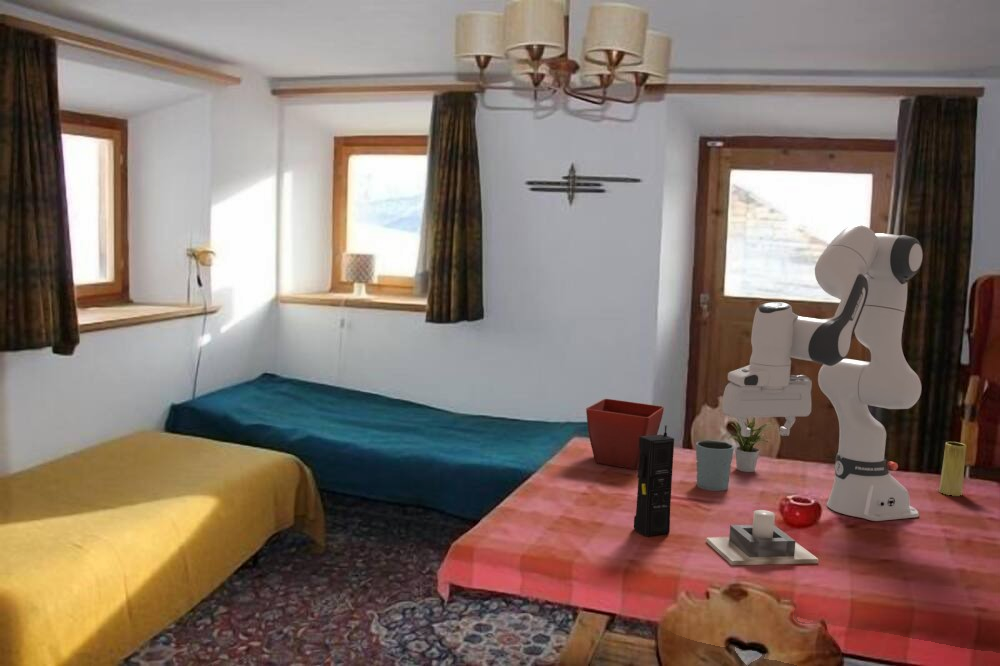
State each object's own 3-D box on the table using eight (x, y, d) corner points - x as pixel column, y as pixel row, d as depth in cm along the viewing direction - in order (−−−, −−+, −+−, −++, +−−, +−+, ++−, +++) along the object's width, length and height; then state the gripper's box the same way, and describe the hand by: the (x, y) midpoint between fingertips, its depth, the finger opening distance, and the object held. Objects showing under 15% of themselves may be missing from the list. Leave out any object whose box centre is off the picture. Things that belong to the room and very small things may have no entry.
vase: (939, 494, 255) (944, 444, 254) (937, 488, 261) (943, 440, 259) (963, 497, 253) (969, 447, 251) (961, 492, 259) (967, 443, 257)
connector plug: (766, 544, 206) (769, 509, 205) (775, 551, 202) (778, 516, 201) (747, 544, 205) (750, 510, 204) (756, 551, 201) (759, 516, 200)
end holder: (787, 540, 212) (788, 521, 212) (817, 563, 198) (819, 543, 198) (706, 541, 209) (707, 522, 208) (731, 565, 195) (733, 545, 194)
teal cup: (738, 489, 252) (741, 446, 250) (712, 493, 246) (716, 450, 244) (710, 479, 260) (713, 438, 258) (685, 483, 254) (688, 442, 253)
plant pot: (661, 459, 279) (665, 405, 277) (644, 474, 262) (648, 417, 260) (601, 450, 287) (604, 398, 285) (581, 464, 269) (584, 408, 267)
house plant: (778, 478, 264) (783, 423, 262) (731, 476, 264) (735, 421, 262) (765, 465, 278) (769, 413, 276) (720, 463, 278) (724, 410, 276)
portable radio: (644, 538, 209) (651, 431, 206) (628, 529, 214) (635, 425, 211) (671, 534, 213) (679, 429, 210) (655, 525, 218) (662, 423, 215)
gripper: (805, 372, 209) (800, 431, 211) (721, 373, 205) (717, 433, 207) (819, 377, 202) (814, 438, 204) (733, 378, 199) (729, 440, 201)
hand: (765, 435), depth 206 cm, fingers open, 8 cm apart
